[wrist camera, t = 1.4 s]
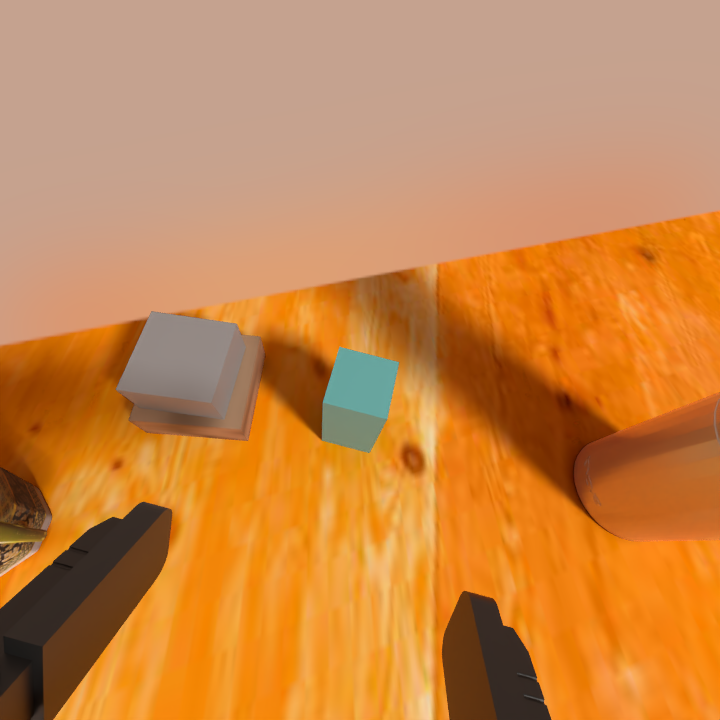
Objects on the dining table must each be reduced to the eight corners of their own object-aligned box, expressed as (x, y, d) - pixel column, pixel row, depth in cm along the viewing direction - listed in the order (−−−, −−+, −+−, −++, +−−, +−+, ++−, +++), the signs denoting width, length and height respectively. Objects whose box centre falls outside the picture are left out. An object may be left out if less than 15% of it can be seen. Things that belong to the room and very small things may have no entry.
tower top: (245, 347, 34) (236, 323, 30) (224, 419, 30) (211, 403, 27) (169, 336, 33) (151, 311, 30) (139, 407, 30) (115, 389, 27)
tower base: (265, 356, 38) (260, 336, 34) (248, 441, 34) (240, 429, 30) (177, 348, 37) (162, 327, 34) (148, 433, 33) (128, 420, 30)
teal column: (379, 407, 36) (399, 362, 27) (369, 452, 34) (387, 419, 25) (334, 396, 36) (339, 346, 27) (321, 440, 34) (322, 402, 25)
